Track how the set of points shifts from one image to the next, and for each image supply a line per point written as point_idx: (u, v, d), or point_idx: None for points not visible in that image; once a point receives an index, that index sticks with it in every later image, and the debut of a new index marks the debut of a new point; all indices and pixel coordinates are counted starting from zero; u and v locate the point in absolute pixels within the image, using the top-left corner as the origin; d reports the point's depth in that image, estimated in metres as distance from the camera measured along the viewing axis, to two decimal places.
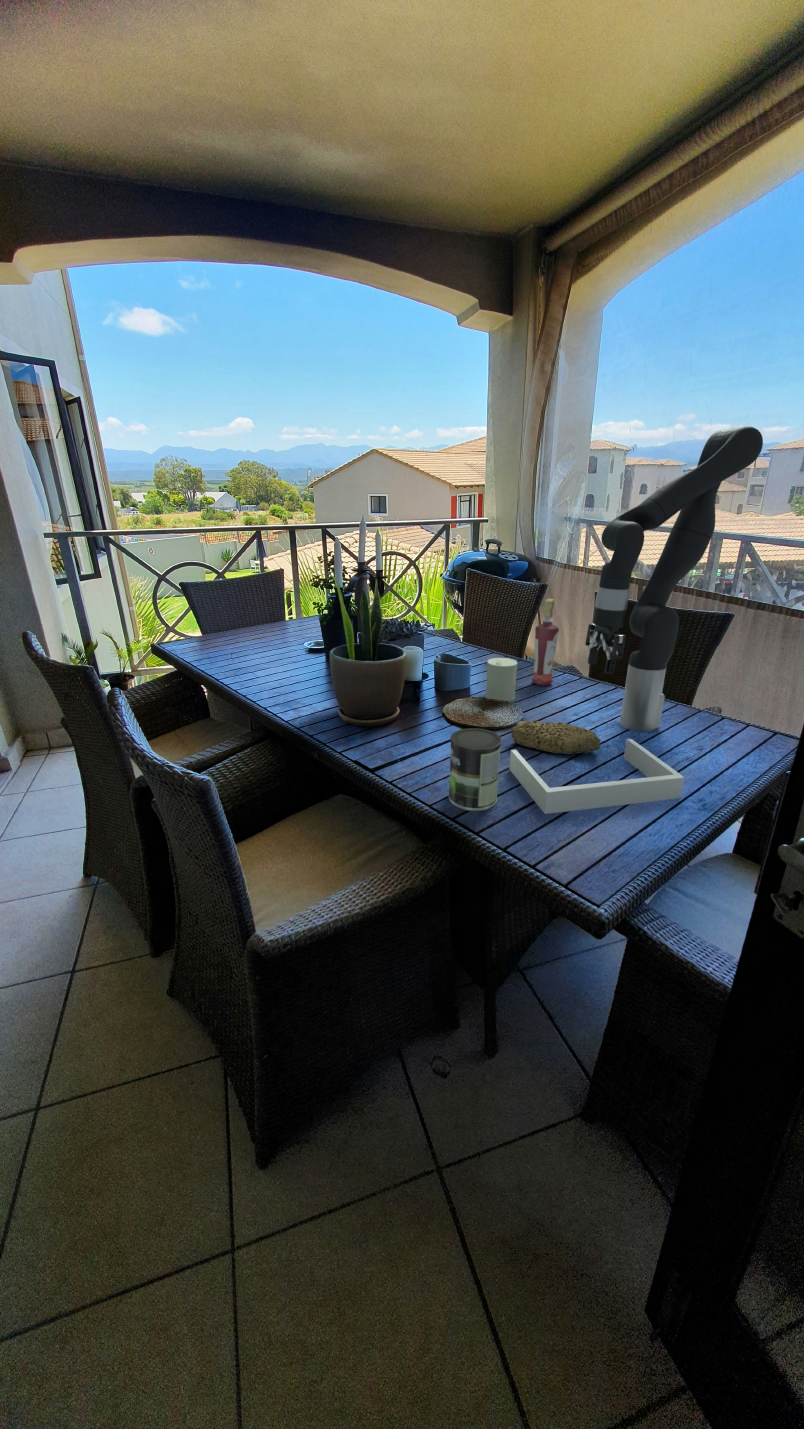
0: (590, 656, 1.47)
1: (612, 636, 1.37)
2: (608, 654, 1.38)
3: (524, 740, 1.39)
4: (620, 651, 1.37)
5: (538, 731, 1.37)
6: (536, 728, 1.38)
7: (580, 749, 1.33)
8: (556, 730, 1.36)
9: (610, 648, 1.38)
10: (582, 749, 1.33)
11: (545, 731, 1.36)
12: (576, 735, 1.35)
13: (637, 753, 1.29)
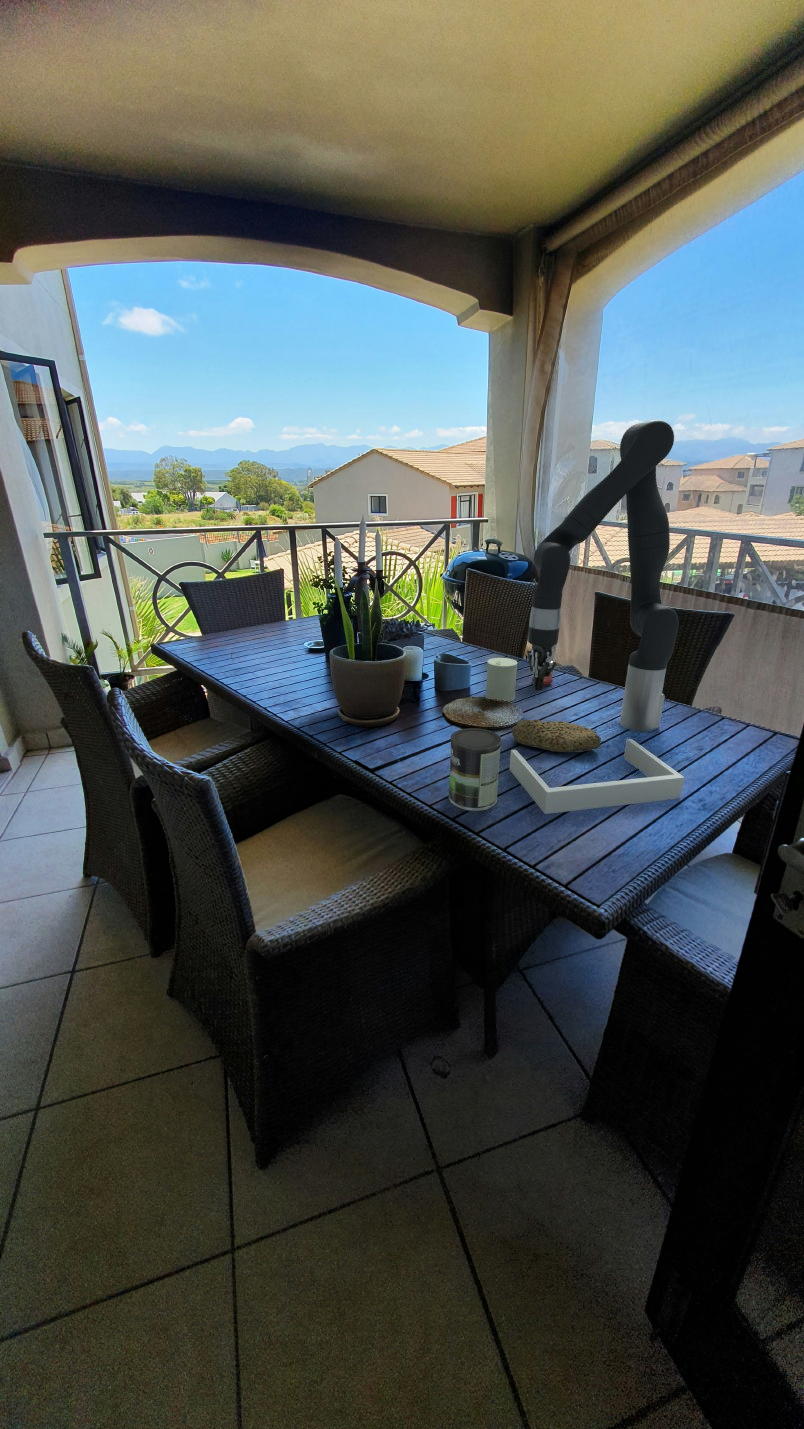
0: None
1: (544, 662, 1.41)
2: (537, 673, 1.44)
3: (525, 739, 1.39)
4: None
5: (539, 730, 1.38)
6: (537, 727, 1.38)
7: (581, 747, 1.34)
8: (557, 729, 1.37)
9: (540, 668, 1.43)
10: (583, 747, 1.34)
11: (546, 730, 1.37)
12: (577, 733, 1.36)
13: (637, 753, 1.29)
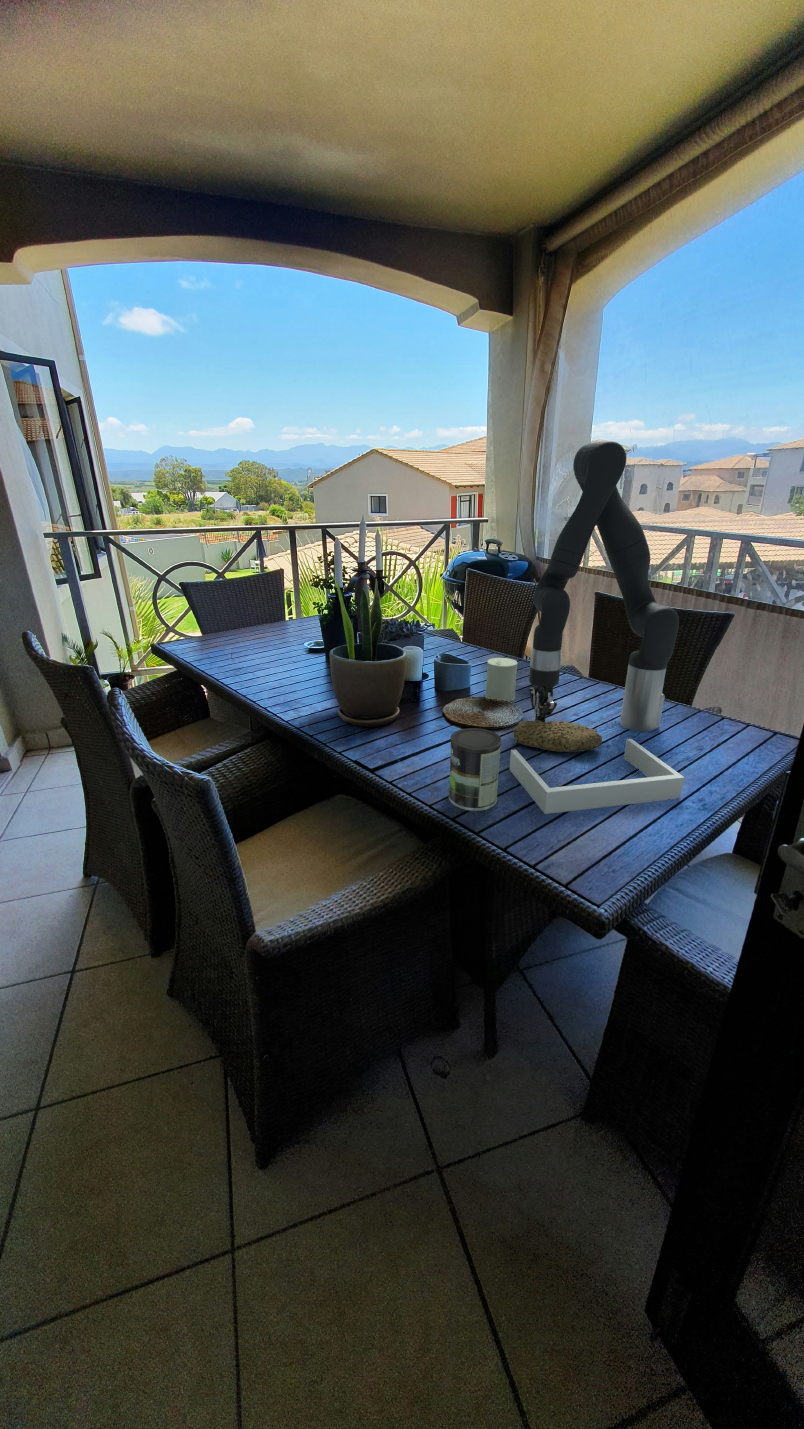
0: None
1: (545, 702, 1.42)
2: (538, 712, 1.46)
3: (527, 740, 1.39)
4: None
5: (541, 730, 1.38)
6: (539, 727, 1.38)
7: (583, 747, 1.34)
8: (559, 729, 1.37)
9: (542, 707, 1.45)
10: (585, 747, 1.34)
11: (548, 730, 1.37)
12: (579, 733, 1.36)
13: (637, 753, 1.29)
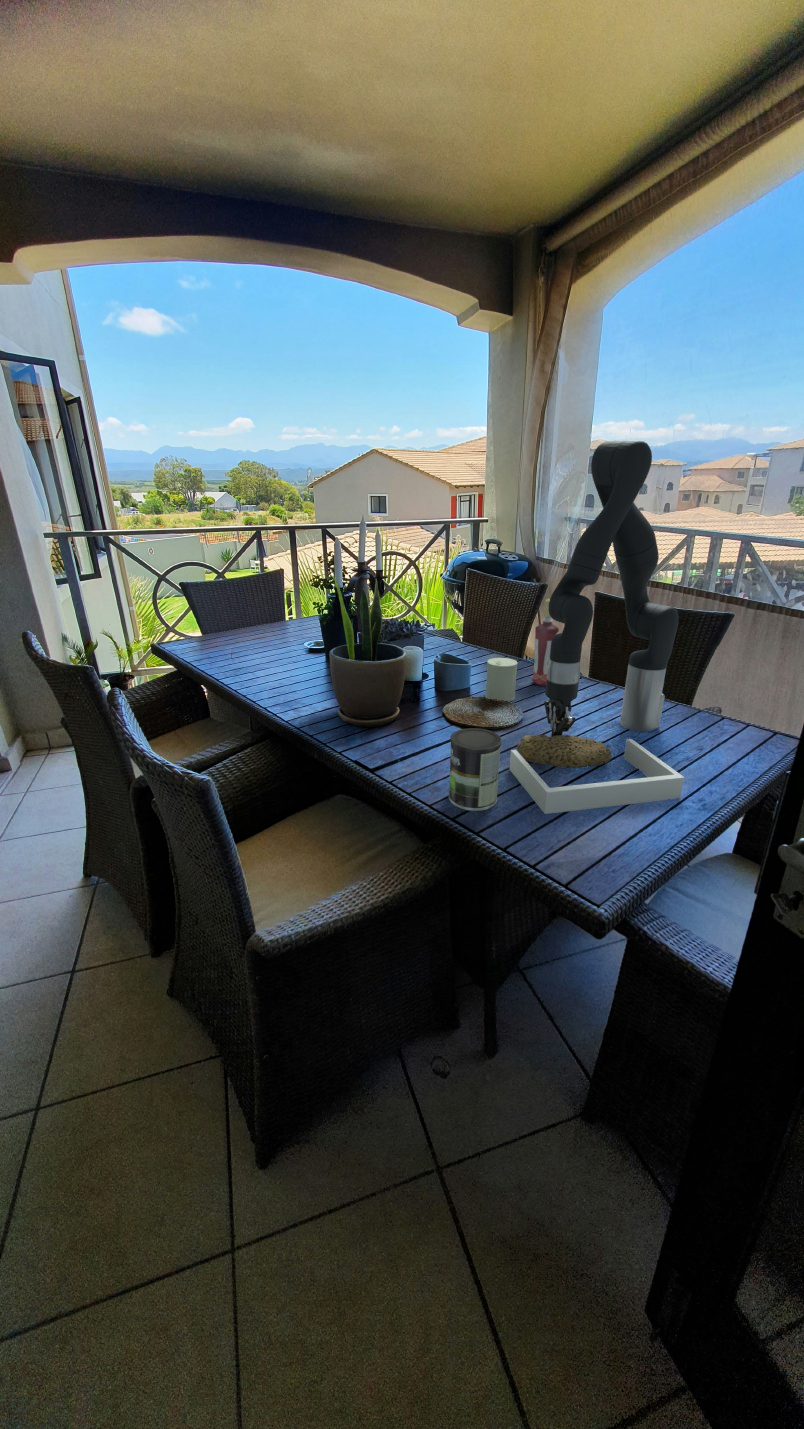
0: (552, 735, 1.39)
1: (563, 717, 1.33)
2: (555, 727, 1.36)
3: (533, 756, 1.30)
4: None
5: (547, 746, 1.29)
6: (545, 743, 1.30)
7: (593, 763, 1.26)
8: (566, 744, 1.29)
9: (559, 722, 1.36)
10: (595, 763, 1.27)
11: (555, 746, 1.29)
12: (587, 748, 1.28)
13: (637, 753, 1.29)
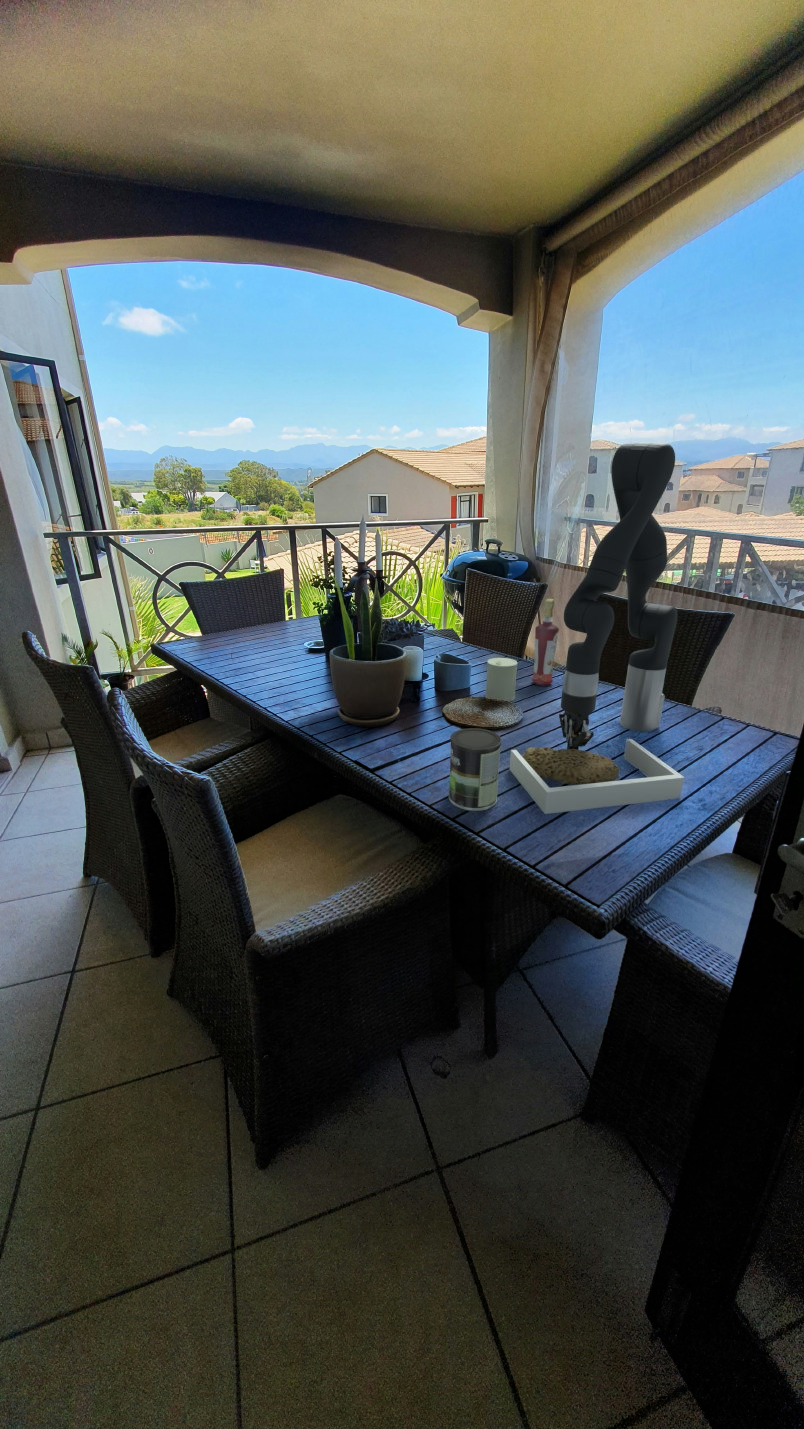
0: None
1: (580, 731, 1.25)
2: (571, 741, 1.29)
3: (535, 770, 1.24)
4: None
5: (550, 760, 1.23)
6: (548, 756, 1.23)
7: (598, 780, 1.19)
8: (570, 758, 1.22)
9: (575, 736, 1.28)
10: (601, 780, 1.19)
11: (558, 760, 1.22)
12: (593, 764, 1.21)
13: (637, 753, 1.29)
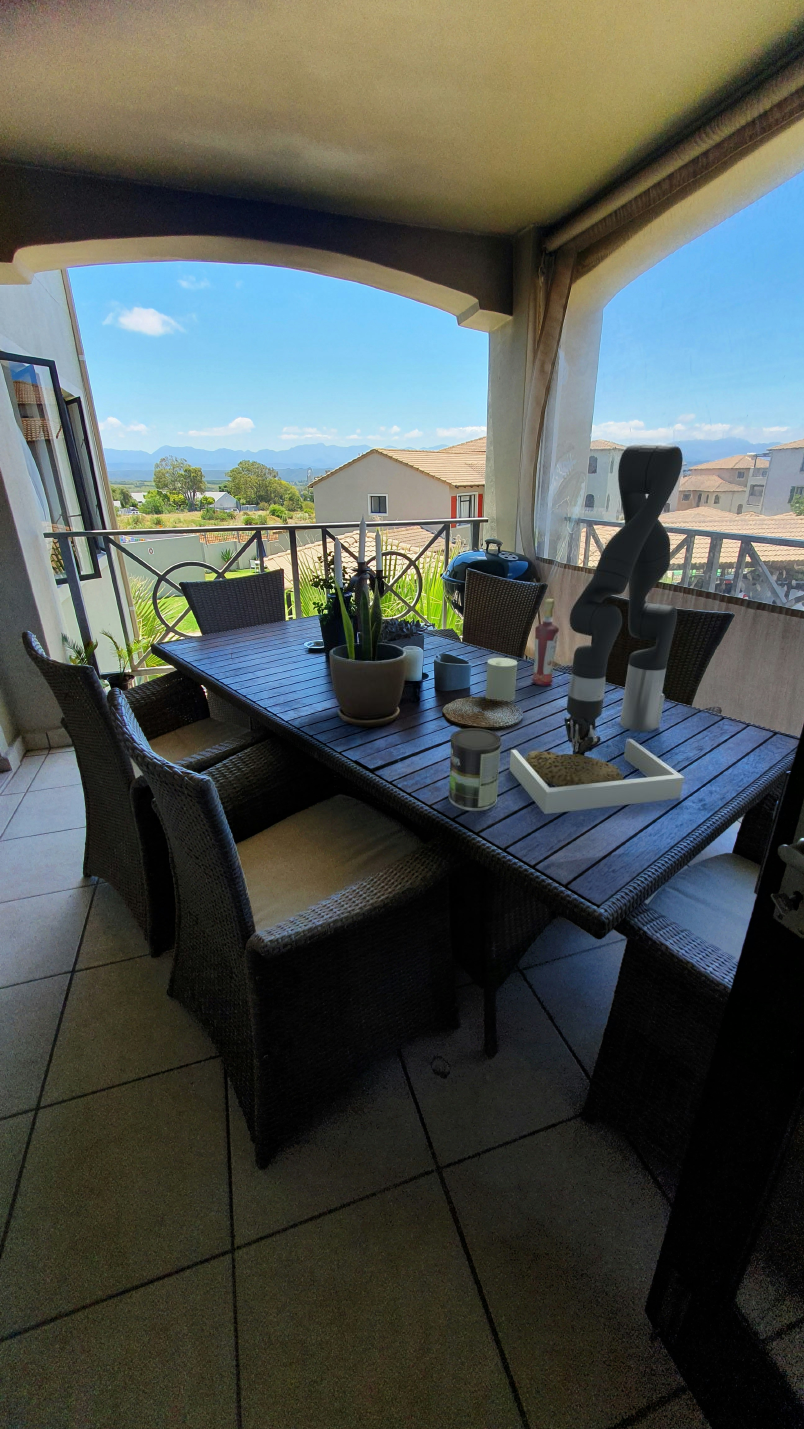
0: None
1: (586, 737, 1.23)
2: (577, 746, 1.26)
3: None
4: None
5: (552, 764, 1.21)
6: (550, 760, 1.22)
7: None
8: (572, 764, 1.20)
9: (581, 741, 1.25)
10: None
11: (560, 764, 1.20)
12: (595, 770, 1.19)
13: (637, 753, 1.29)
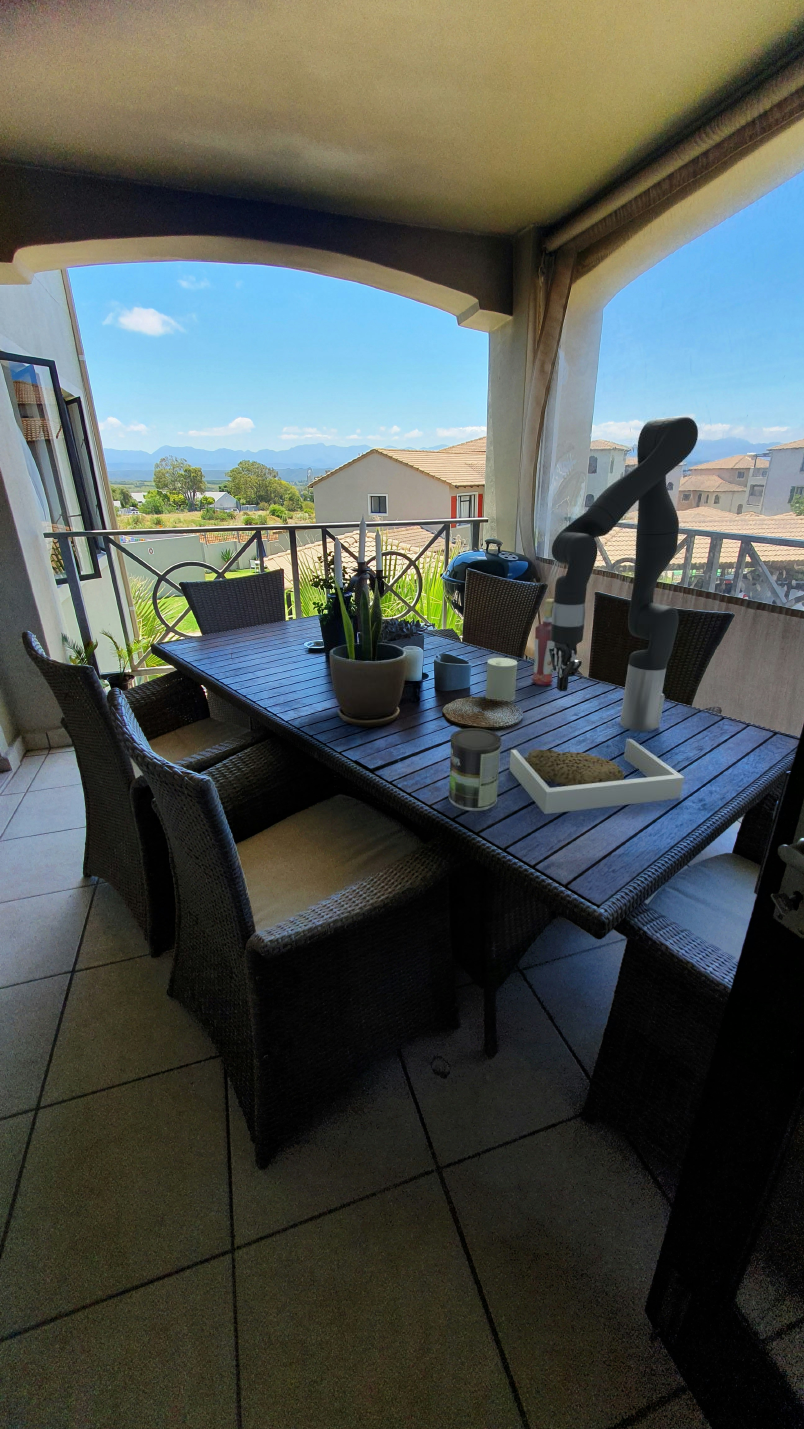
0: (558, 682, 1.37)
1: (569, 661, 1.31)
2: (561, 672, 1.35)
3: (538, 772, 1.23)
4: None
5: (553, 762, 1.22)
6: (551, 759, 1.22)
7: None
8: (574, 761, 1.21)
9: (564, 667, 1.34)
10: None
11: (562, 763, 1.21)
12: (597, 768, 1.19)
13: (637, 753, 1.29)
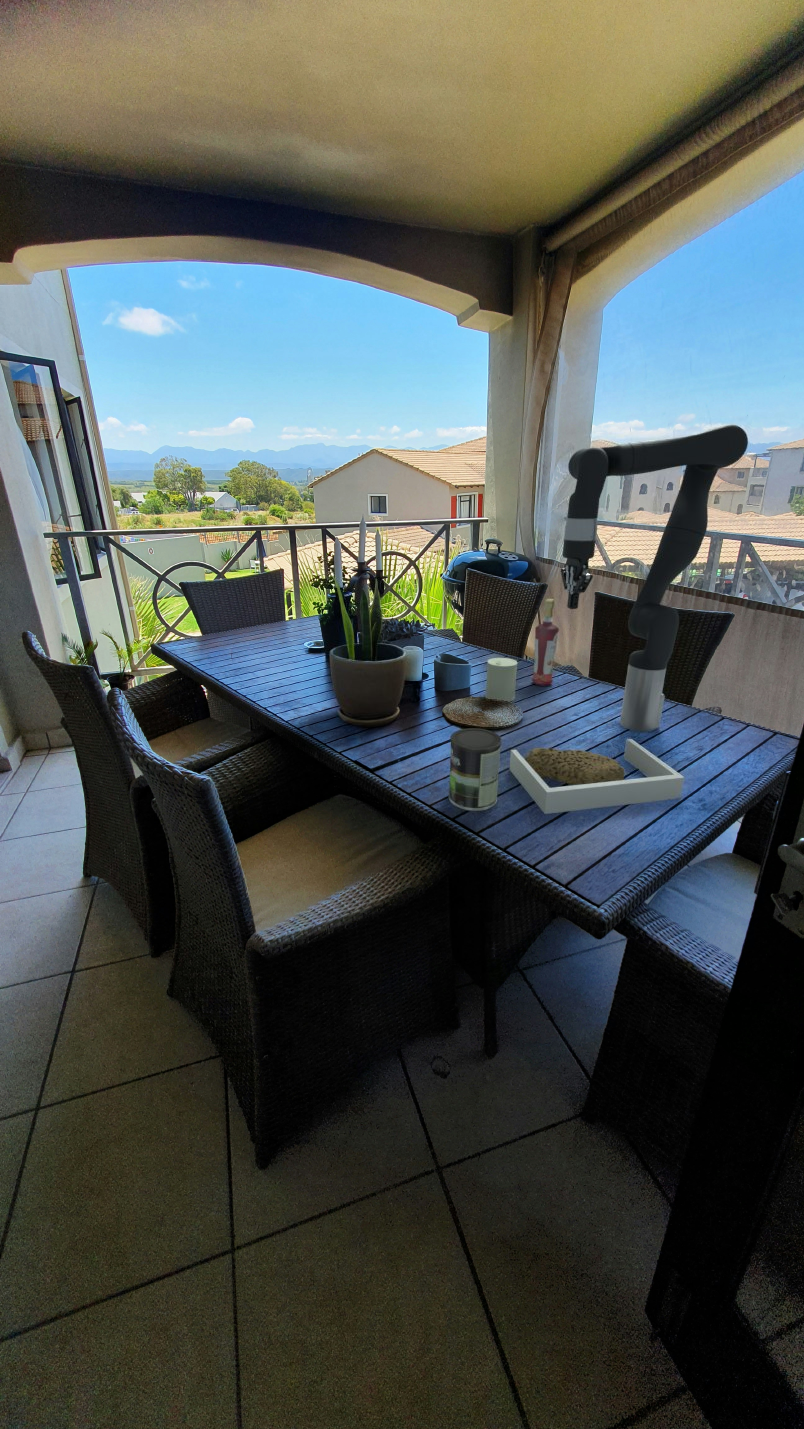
0: (569, 599, 1.42)
1: (580, 576, 1.36)
2: (572, 589, 1.40)
3: (539, 770, 1.24)
4: None
5: (555, 760, 1.22)
6: (553, 757, 1.23)
7: (603, 781, 1.19)
8: (575, 759, 1.22)
9: (576, 583, 1.39)
10: (605, 781, 1.19)
11: (563, 761, 1.22)
12: (598, 765, 1.20)
13: (637, 753, 1.29)
